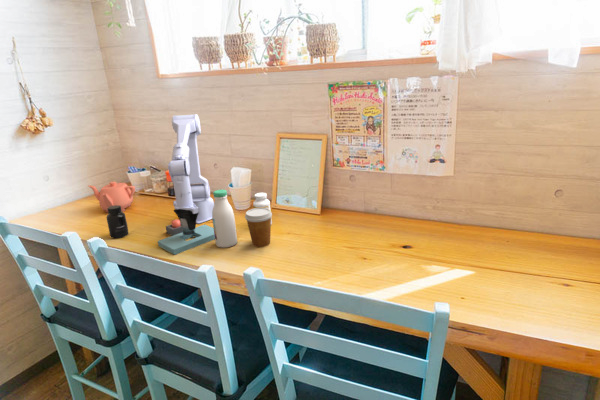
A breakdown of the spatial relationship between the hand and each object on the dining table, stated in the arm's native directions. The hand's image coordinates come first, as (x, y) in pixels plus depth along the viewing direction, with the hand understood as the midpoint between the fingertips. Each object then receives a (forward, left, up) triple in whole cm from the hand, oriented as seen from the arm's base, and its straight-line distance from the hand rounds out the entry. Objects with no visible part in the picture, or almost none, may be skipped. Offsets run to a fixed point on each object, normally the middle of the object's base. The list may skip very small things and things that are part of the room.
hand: (188, 227), depth 150 cm
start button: (-1, -12, -4) cm, 13 cm away
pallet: (0, 0, -5) cm, 5 cm away
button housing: (-1, -12, -5) cm, 13 cm away
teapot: (+3, -64, -6) cm, 64 cm away
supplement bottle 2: (-27, +10, -6) cm, 29 cm away
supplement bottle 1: (+15, -29, -6) cm, 33 cm away
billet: (0, 0, -2) cm, 2 cm away
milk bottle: (-7, +13, -6) cm, 16 cm away
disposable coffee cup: (-15, +23, -6) cm, 28 cm away
